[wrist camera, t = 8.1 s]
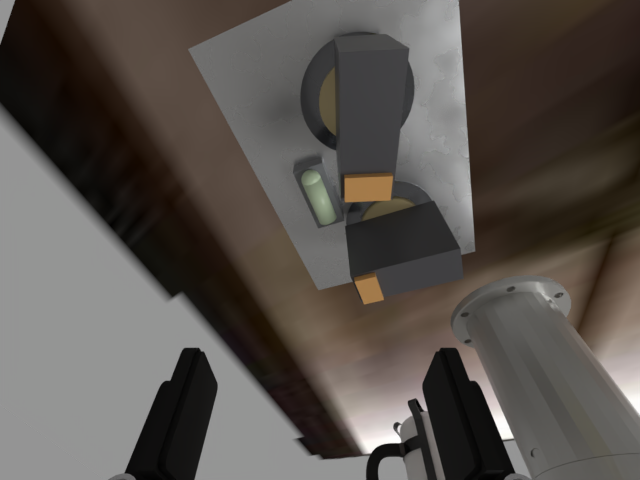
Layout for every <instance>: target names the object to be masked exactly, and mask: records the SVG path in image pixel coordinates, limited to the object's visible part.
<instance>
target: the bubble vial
mask: <svg viewBox="0 0 640 480" xmlns="http://www.w3.org/2000/svg"><path fill="white" fill-rule="evenodd" d="M293 175H294V177H295V179H296V181H297V183H298V186H299V188H300V190H301V192H302V194H303V196H304V199H305V201H306V203H307V205H308V207H309V210H310V212H311V214H312V216H313V218H314V221H315V223H316V225H317V227H318V228H322V227H325V226H329V225H332V224H336V223H339V222H342V221H344V214H343V211H342V208H341V206H340V203H339V200H338V198H337V195H336V193H335V190H334V187H333V185H332V182H331V179H330V177H329V174H328V171H327V169H326V166H325V164H324V161H323V158H322V157H320V158H318V159H315V160H312V161H309V162H306V163H303V164H300V165H297V166H294V168H293Z"/></svg>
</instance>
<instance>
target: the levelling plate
mask: <svg viewBox="0 0 640 480" xmlns="http://www.w3.org/2000/svg"><path fill="white" fill-rule="evenodd" d="M375 34H387V35H389V36H390V37H392V38H394V39H395V40H397V41H398V42H400V43H402V44H403V45H405V46H406V47H408V48H409V57H408V66H407V75H406V84H405V93H404V102H403V111H402V120H401V129H400V137H399V146H398V155H397V164H396V173H395V182H394V191H393V196H399V197H404V198H407V199H409V200H410V201H412V202H413V203H414V204H415V205H420V204H423V203H427V202H430V201H433V200H434V201H435V203H436V205H437V207H438V208H439V210H440V212H441V214H442V216H443V217H444V219H445V221H446V223H447V225H448V227H449V228H450V230H451V232H452V234H453V236H454V237H455V239H456V241H457V243H458V245H459V247H460V248H461V255H463V254H467V253H471V252H475V240H474V225H473V209H472V194H471V179H470V164H469V149H468V134H467V118H466V103H465V88H464V73H463V58H462V43H461V27H460V12H459V0H292V1H289V2H287V3H285V4H283V5H281V6H279V7H277V8H274V9H272V10H270V11H268V12H266V13H264V14H262V15H260V16H257V17H255V18H253V19H251V20H249V21H247V22H245V23H243V24H240V25H238V26H236V27H234V28H232V29H230V30H228V31H226V32H223V33H221V34H219V35H217V36H215V37H213V38H211V39H209V40H206V41H204V42H202V43H200V44H198V45H196V46H194V47H192V48H189V49H188V50H189V52H190V54H191V56H192V58H193V59H194V61H195V63H196V65H197V67H198V69H199V71H200V72H201V74H202V76H203V78H204V80H205V82H206V83H207V85H208V87H209V89H210V91H211V93H212V95H213V96H214V98H215V100H216V102H217V104H218V106H219V108H220V109H221V111H222V113H223V115H224V117H225V119H226V120H227V122H228V124H229V126H230V128H231V130H232V132H233V133H234V135H235V137H236V139H237V141H238V143H239V145H240V146H241V148H242V150H243V152H244V154H245V156H246V157H247V159H248V161H249V163H250V165H251V167H252V169H253V170H254V172H255V174H256V176H257V178H258V180H259V181H260V183H261V185H262V187H263V189H264V191H265V193H266V194H267V196H268V198H269V200H270V202H271V204H272V206H273V207H274V209H275V211H276V213H277V215H278V217H279V218H280V220H281V222H282V224H283V226H284V228H285V230H286V231H287V233H288V235H289V237H290V239H291V241H292V243H293V244H294V246H295V248H296V250H297V252H298V254H299V255H300V257H301V259H302V261H303V263H304V265H305V267H306V268H307V270H308V272H309V274H310V276H311V278H312V279H313V281H314V283H315V285H316V287H317V289H318V290H321V289H325V288H329V287H333V286H337V285H341V284H346V283H350V282H353V281H352V279H351V277H350V268H349V259H348V250H347V240H346V231H345V226H347V225H350V224H354V223H357V222H361V219H362V216H363V213H364V212H365V210H366V209H367V208H368V207H369V206H370V205H371V204H372V203H374V202H375V201H365V202H341V200H340V190H339V180H338V170H337V160H336V136H335V135H334V134H333V133H331V132H330V131H329V130H328V128H327V127H326V126H325V124H324V122H323V120H322V117H321V114H320V108H319V95H320V89H321V86H322V83H323V81H324V79H325V77H326V76H327V74H328V73H329V71H330V70H331V69H332V68H333V67H334V66H335V52H334V37H341V36H358V35H375ZM320 157H322V158H323V161H324V164H325V166H326V169H327V171H328V174H329V177H330V179H331V182H332V185H333V187H334V190H335V193H336V195H337V198H338V200H339V203H340V206H341V208H342V211H343V214H344V221H342V222H339V223H336V224H332V225H329V226H325V227H322V228H318V227H317V225H316V223H315V221H314V218H313V216H312V214H311V212H310V210H309V207H308V205H307V203H306V201H305V199H304V196H303V194H302V192H301V190H300V188H299V186H298V183H297V181H296V179H295V177H294V175H293V168H294V166H297V165H300V164H303V163H306V162H309V161H312V160H315V159H318V158H320Z"/></svg>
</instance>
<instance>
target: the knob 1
mask: <svg viewBox="0 0 640 480" xmlns="http://www.w3.org/2000/svg"><path fill="white" fill-rule="evenodd" d="M334 52H335V66H334V67H333V68H332V69H331V70H330V71H329V73H328V74H327V76H326V77H325V79H324V81H323V83H322V86H321V89H320V95H319V108H320V114H321V117H322V120H323V122H324V124H325V126H326V127H327V128H328V130H329V131H330V132H331V133H333V134H334V135H335V136H336V160H337V170H338V180H339V190H340V200H341V202H365V201H388V200H393V191H394V182H395V173H396V164H397V155H398V146H399V137H400V129H401V120H402V111H403V102H404V93H405V84H406V75H407V66H408V57H409V48H408V47H406V46H405V45H403V44H402V43H400V42H398V41H397V40H395V39H394V38H392V37H390V36H389V35H387V34H375V35H358V36H341V37H334Z"/></svg>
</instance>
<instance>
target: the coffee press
mask: <svg viewBox="0 0 640 480" xmlns="http://www.w3.org/2000/svg"><path fill="white" fill-rule="evenodd" d="M408 406H409V409H410V411H411V413H412V416H410V417H409V418H407V419H406V420H405V421H404V422H403V423H402V424H400V423H399V422H395V423H394V425H393V429H394V431H395V432H396V433H397V434H398V435H399V437H400V438H401V443H388V444H383V445H380V446H378V447H376V448H375V449H374V450H373V451H372V453H371V454H370V456H369V459H368V462H367V466H366V480H379V477H378V467H379V464H380V461H381V460H382V459H383V458H386V457H401V458H403V461H404V463H405V466H406V472H407V477H408V480H445V476H444V472H443V468H442V464H441V461H440V457H439V453H438V449H437V445H436V441H435V437H434V433H433V429H432V426H431V422H430V418H429V414H428V411H424V410H423V409H422V407H421V405H420V403H419V402H418V400H417V399H416V398H415V399H411V400H408ZM399 425H401V427H400V433H399V432H398V426H399Z"/></svg>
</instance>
